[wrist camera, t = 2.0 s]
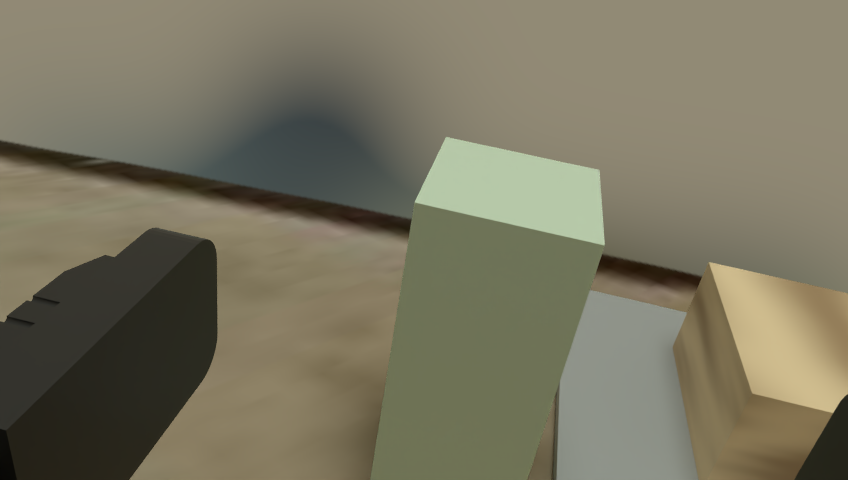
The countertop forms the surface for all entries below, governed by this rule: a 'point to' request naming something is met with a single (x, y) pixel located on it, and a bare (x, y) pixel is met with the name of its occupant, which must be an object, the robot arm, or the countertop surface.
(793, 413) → the base block
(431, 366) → the pillar
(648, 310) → the board
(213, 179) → the countertop surface
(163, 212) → the countertop surface
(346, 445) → the countertop surface
